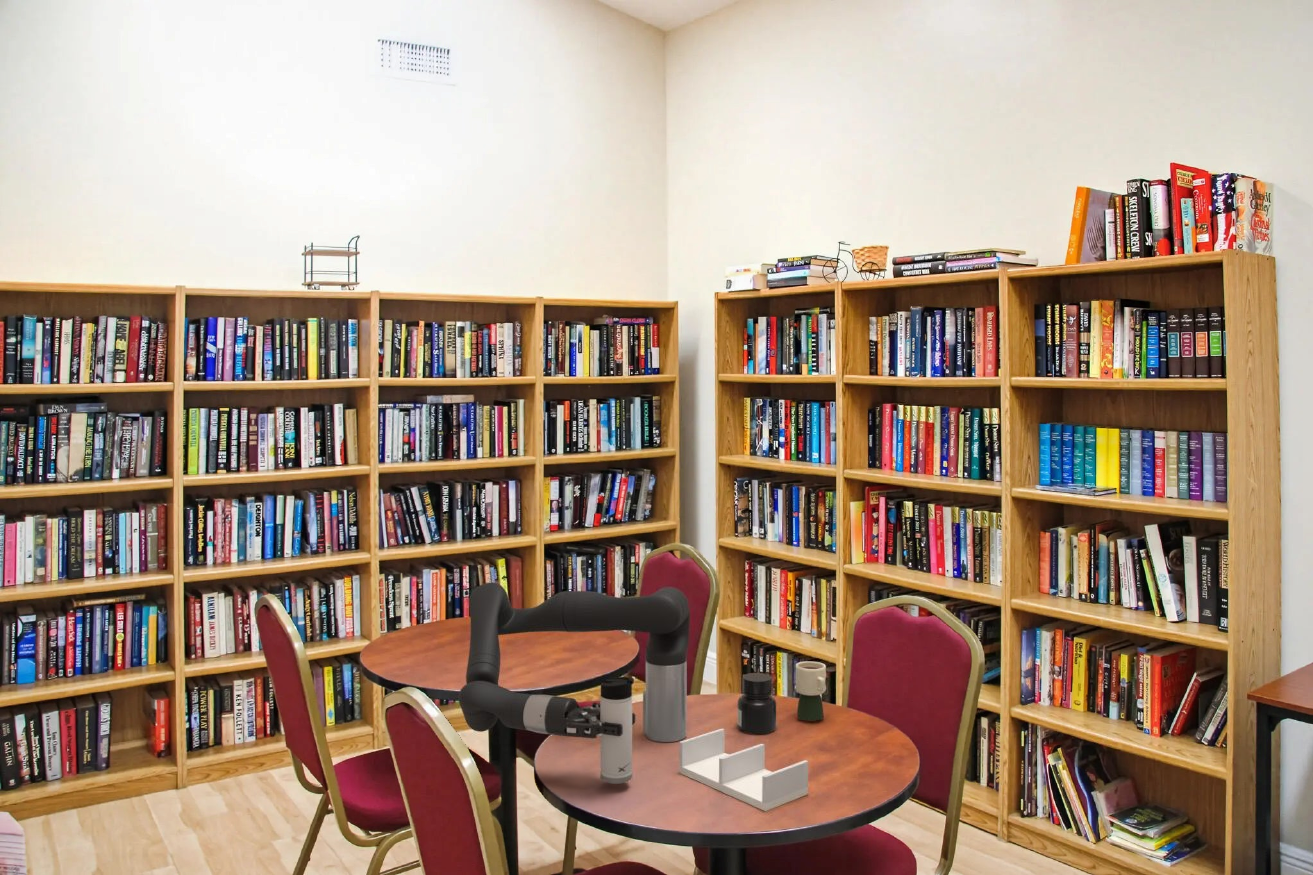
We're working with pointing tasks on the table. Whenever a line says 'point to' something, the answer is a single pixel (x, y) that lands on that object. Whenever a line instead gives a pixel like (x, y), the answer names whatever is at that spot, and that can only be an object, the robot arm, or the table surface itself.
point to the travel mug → (616, 747)
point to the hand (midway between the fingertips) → (628, 724)
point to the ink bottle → (756, 704)
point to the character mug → (810, 689)
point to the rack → (741, 772)
